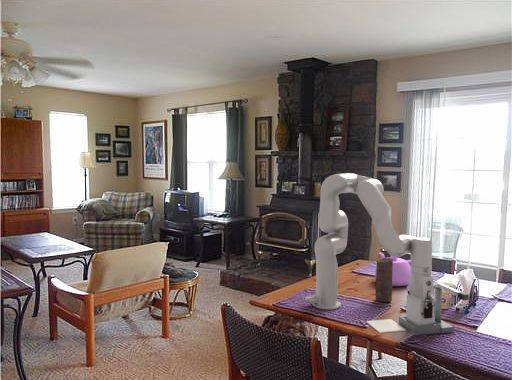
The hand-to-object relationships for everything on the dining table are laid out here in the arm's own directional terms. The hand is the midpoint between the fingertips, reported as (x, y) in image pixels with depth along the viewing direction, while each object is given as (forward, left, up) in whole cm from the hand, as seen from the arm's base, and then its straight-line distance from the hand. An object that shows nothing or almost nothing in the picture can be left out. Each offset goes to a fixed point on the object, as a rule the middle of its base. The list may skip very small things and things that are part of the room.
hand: (420, 313), depth 157 cm
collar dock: (+2, 0, -6) cm, 6 cm away
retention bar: (+8, -6, +10) cm, 14 cm away
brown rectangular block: (+2, +31, -6) cm, 32 cm away
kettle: (+21, +56, -6) cm, 60 cm away
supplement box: (0, 0, -6) cm, 6 cm away
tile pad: (-12, +4, -6) cm, 14 cm away
